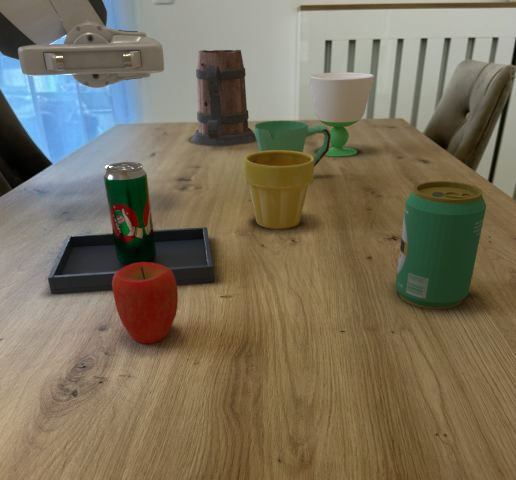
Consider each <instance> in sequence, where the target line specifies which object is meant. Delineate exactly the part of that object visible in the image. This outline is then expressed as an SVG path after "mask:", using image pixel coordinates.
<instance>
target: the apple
mask: <svg viewBox="0 0 516 480" xmlns="http://www.w3.org/2000/svg"><path fill="white" fill-rule="evenodd" d="M112 287H113V289H112V294H113V298H114V303H115V308H116V312H117V315H118V317H119V319H120V322H121V324H122V325H123V327H124V329H125V330H126V332H127V334H128V335H129V336H130V337H131V338H132V339H133V340H134V341H135V342H138V343H141V344H146V345H147V344H154V343H157V342H159V341H161V340H163V339H164V338H165V337H166V336H168V334H169V332H170V331H171V328H172V325H173V323H174V321H175V318H176V315H177V311H178V303H179V301H178V299H179V297H178V296H179V295H178V285H176V280H175V276H174V274H173V272H172V271H171V269H170V268H167V267H165V266H162V265H160V264H156V263H152V262H139V263H133V264H130V265H127V266H125V267H124V268H122V269H121V270H119V271H117V272H116V273H115V274H114V276H113V281H112Z"/></svg>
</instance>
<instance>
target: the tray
mask: <svg viewBox="0 0 516 480" xmlns="http://www.w3.org/2000/svg"><path fill="white" fill-rule="evenodd" d="M153 230H154V238H155V246H156V257H155V259H154V260H153V261H152V263H156V264H160V265H162V266H165V267H167V268H170V269H171V271H172V272H173V274H174V276H175V280H176V285H177V286H180V285H192V284H193V285H194V284H208V283H215V273H214V264H213V263H214V262H213V256H212V252H211V251H212V250H211V243H210V238H209V231H208V227H207V226H203V227H202V226H201V227H184V228H169V229H153ZM125 266H126V265H123V264H122V263H120V262H119V261H118V260H117V256H116V250H115V244H114V238H113V232H106V233H105V232H104V233H88V234H73V235H67V236H66V237H65V240H64V242H63V244H62V246H61V249H60V251H59V253H58V256H57V257H56V259H55V262H54V263H53V266H52V268H51V270H50V273H49V275H48V276H47V280H48V285H49V289H50V294H51V295H52V294H53V295H54V294H55V295H56V294H69V293H71V294H72V293H83V292H97V291H98V292H99V291H111V290H112V291H113V287H112V281H113V276H114V274H115V273H116V272H117V271H119V270H121V269H122V268H124V267H125Z"/></svg>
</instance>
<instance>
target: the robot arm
mask: <svg viewBox="0 0 516 480" xmlns="http://www.w3.org/2000/svg"><path fill="white" fill-rule="evenodd" d="M107 23H108V11H107V7H106V5H105V3H104V1H103V0H0V53H1V54H2V56H4V57H7V58H10V59H13V60H18V61H19V65H20V69H21V73H22V74H23V75H24V76H28V77H36V76H37V77H39V76H67V75H71V77H72V78H73V79H74V80H75V81H76V82H78V83H79V84H81V85H83V86H85V87H88V88H92V89H100V88H105V87H107V86H109V85H115V84H118V83H120V82H122V81H130V80H139V79H144V78H145V79H146V78H149V77H151V74H157V73H163V72H164V70H165V59H164V49H163V45H162V43H161V42H160V41H158V40H157V39H155V38H152V37H148V36H147V33H146V32H144V31H138V30H123V29H114V28H111V27H108V26H107ZM63 38H64V40H63V43H56V42H57V41H60V40H61V39H63Z"/></svg>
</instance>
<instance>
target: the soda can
mask: <svg viewBox="0 0 516 480" xmlns="http://www.w3.org/2000/svg"><path fill="white" fill-rule="evenodd" d="M143 167H144V166H143V164H142V163H140V162H136V161H120V162H114V163H111V164H108V165H106V166H105V173H104V175H103V181H104V182H103V183H104V187H105V194H106V200H107V206H108V212H109V219H110V226H111V231H112V233H113V238H114V244H115V250H116V256H117V260H118V261H119V262H120V263H122V264H123V265H126V266H127V265H130V264H133V263H139V262H152V261H153V260H154V259H155V257H156V246H155V238H154V230H155V229H154V221H153V214H152V207H151V198H150V191H149V183H148V182H149V181H148V174H147V172H146V170H145V169H144V168H143Z"/></svg>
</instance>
